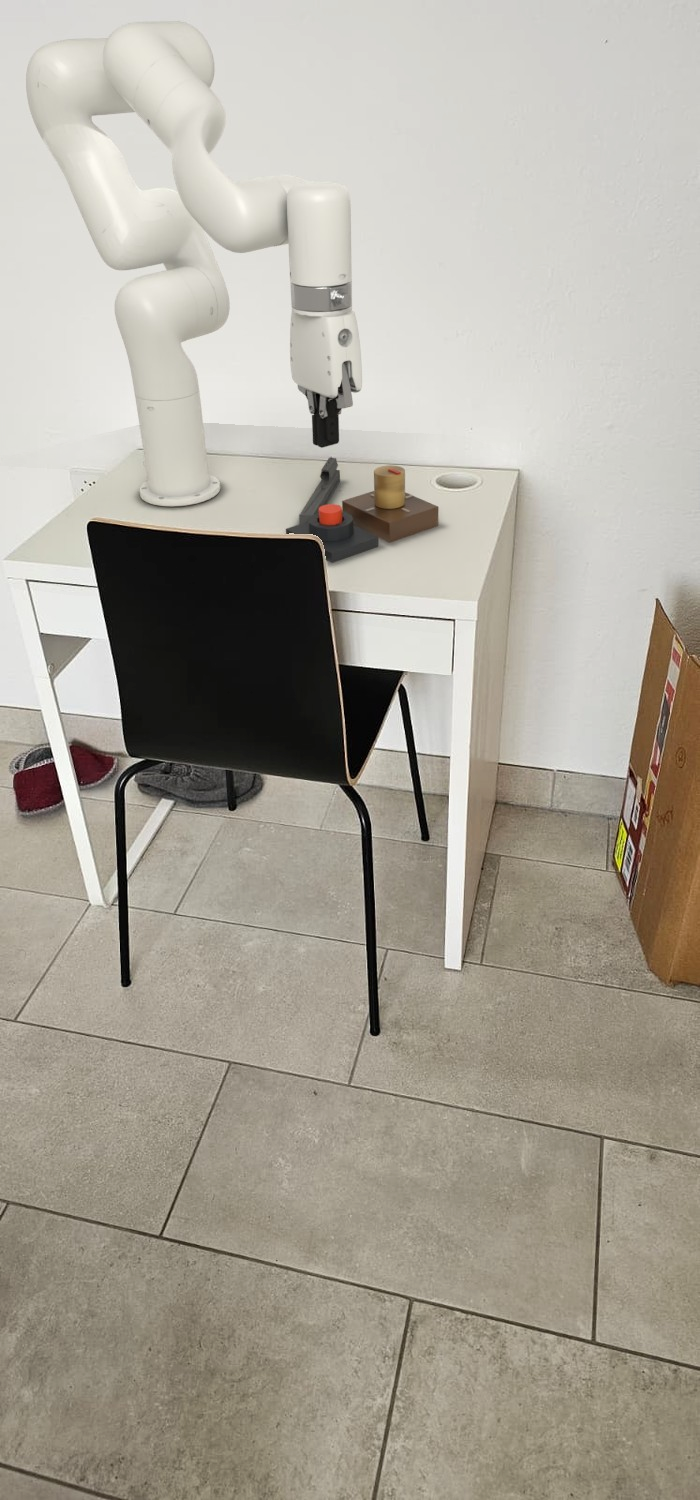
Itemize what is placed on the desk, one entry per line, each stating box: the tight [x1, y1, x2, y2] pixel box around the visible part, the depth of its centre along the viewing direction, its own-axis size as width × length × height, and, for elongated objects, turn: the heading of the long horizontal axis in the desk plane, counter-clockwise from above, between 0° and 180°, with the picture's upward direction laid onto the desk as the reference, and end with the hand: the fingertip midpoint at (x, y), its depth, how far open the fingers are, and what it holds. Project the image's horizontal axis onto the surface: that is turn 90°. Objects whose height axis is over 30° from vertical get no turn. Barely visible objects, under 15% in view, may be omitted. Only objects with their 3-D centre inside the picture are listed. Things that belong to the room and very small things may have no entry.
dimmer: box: [341, 490, 439, 544], centre depth 146 cm, size 11×9×3 cm
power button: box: [319, 503, 342, 525], centre depth 140 cm, size 3×3×2 cm
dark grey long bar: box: [298, 456, 341, 524], centre depth 153 cm, size 19×3×4 cm, turn 168°
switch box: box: [285, 512, 379, 564], centre depth 141 cm, size 11×8×4 cm
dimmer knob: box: [373, 464, 406, 509], centre depth 144 cm, size 4×4×5 cm
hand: (326, 443), depth 136 cm, fingers closed
